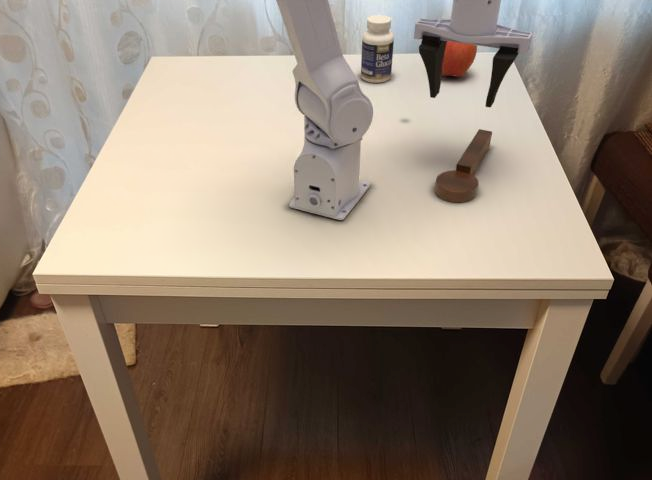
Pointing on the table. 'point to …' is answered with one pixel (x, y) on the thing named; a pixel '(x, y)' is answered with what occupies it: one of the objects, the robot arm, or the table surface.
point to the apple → (458, 58)
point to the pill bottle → (377, 49)
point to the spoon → (464, 171)
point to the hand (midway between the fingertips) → (461, 99)
